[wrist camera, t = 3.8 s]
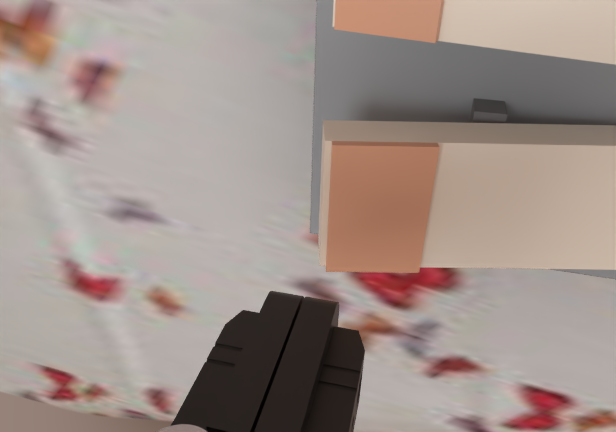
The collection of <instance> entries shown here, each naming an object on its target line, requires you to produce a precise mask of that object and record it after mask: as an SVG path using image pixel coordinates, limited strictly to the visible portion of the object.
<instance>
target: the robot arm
mask: <svg viewBox="0 0 616 432" xmlns="http://www.w3.org/2000/svg"><path fill="white" fill-rule="evenodd" d="M338 316H339V302H334V301H328V300H322V299H317V298H311V297H305V298H304V297H303V296H298V295H293V294H287V293H281V292H275V291H270V292H269V294H268V296H267V298H266V300H265V302H264V304H263V306H262V308H261V311H260V313H257V312H251V311H246V310H243V311H241V312H240V313H239V314H238V315H236V316H235V317H234V318H233V319H231V320H230V321H229V322H228V323H227V324H225V326H224V328H223V330H222V332H221V334H220V335H219V337H218V339H217V341H216V343H215V347H213V349H212V350H211V352H210V354H209V356H208V358H207V362H205V363H204V365H203V367H202V369H201V371H200V373H199V375H198V377H197V378H196V380H195V382H194V384H193V386H192V388H191V390H190V391H189V393H188V395H187V397H186V399H185V401H184V403H183V405H182V406H181V408H180V410H179V412H178V414H177V416H176V418H175V419H174V421H173V423H172V424H171V426H169V427H166V428H164V429H161V430H160V431H157V432H353V430H354V425H355V420H356V414H357V409H358V404H359V397H360V389H361V380H362V371H363V362H364V353H365V350H364V347H363V343H362V340H361V337H360V334H359V331H357V330H351V329H346V328H340V327H338Z"/></svg>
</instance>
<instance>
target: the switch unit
mask: <svg viewBox="0 0 616 432" xmlns="http://www.w3.org/2000/svg"><path fill="white" fill-rule="evenodd" d="M333 3H334V0H317V10H316V44H315V78H314V113H313V147H312V181H311V215H310V233H312V234H319V210H320V184H321V159H322V133H323V120H348V121H403V122H457V123H512V124H566V125H616V65H615V64H607V63H600V62H592V61H585V60H577V59H570V58H562V57H555V56H547V55H540V54H532V53H525V52H517V51H510V50H503V49H495V48H488V47H480V46H473V45H465V44H458V43H450V42H443V41H437V42H436V43H430V42H423V41H416V40H408V39H401V38H394V37H386V36H379V35H372V34H364V33H357V32H349V31H342V30H335V29H334V27H332V25H333ZM551 270H557V271H564V272H571V273H577V274H584V275H590V276H597V277H604V278H610V279H616V270H593V269H551Z"/></svg>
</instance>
